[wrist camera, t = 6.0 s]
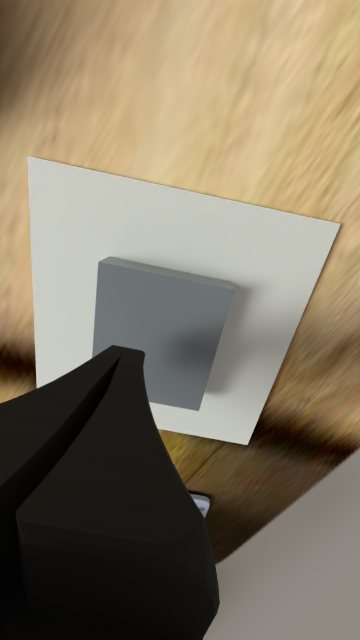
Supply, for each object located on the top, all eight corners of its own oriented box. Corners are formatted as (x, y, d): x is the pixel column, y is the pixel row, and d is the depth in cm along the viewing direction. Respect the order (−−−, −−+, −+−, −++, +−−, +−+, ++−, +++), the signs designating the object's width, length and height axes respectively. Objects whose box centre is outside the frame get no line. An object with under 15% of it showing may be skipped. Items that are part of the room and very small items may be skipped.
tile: (89, 390, 13) (198, 411, 13) (98, 261, 10) (234, 289, 11) (100, 373, 15) (198, 392, 15) (109, 256, 12) (229, 280, 12)
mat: (246, 441, 17) (247, 445, 16) (40, 403, 16) (37, 406, 16) (337, 223, 11) (340, 223, 11) (31, 157, 11) (27, 155, 10)
